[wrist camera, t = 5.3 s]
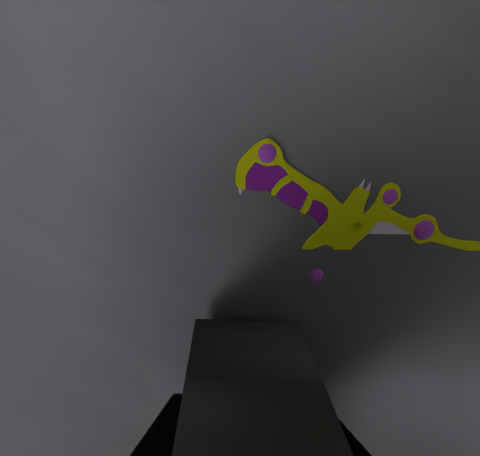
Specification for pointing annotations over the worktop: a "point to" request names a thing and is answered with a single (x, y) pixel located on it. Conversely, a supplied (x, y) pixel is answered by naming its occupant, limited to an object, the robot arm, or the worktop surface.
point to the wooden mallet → (255, 394)
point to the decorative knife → (335, 205)
